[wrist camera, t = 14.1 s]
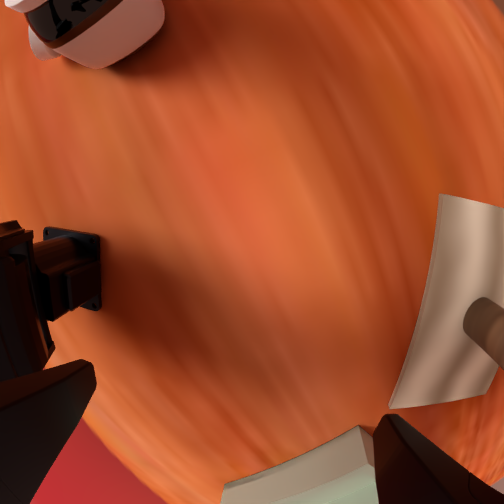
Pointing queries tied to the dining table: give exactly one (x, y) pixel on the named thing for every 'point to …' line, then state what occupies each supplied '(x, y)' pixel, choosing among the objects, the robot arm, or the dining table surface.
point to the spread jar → (90, 28)
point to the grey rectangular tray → (315, 476)
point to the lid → (458, 309)
